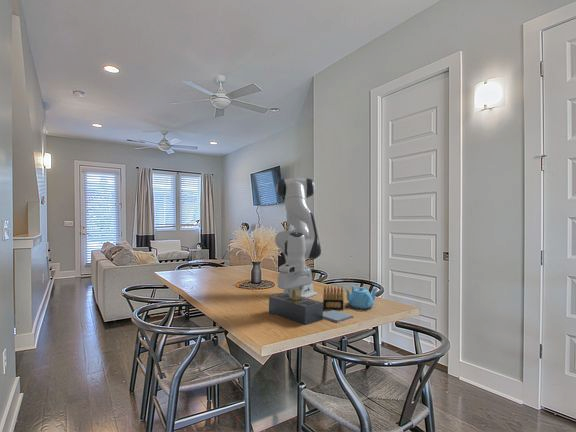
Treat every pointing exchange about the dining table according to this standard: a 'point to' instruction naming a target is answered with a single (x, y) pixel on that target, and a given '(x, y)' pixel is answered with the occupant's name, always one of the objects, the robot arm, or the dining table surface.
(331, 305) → the ammunition clip
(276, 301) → the dark grey socket block
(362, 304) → the teapot
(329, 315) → the slate mat
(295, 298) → the brass plug
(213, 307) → the dining table surface
